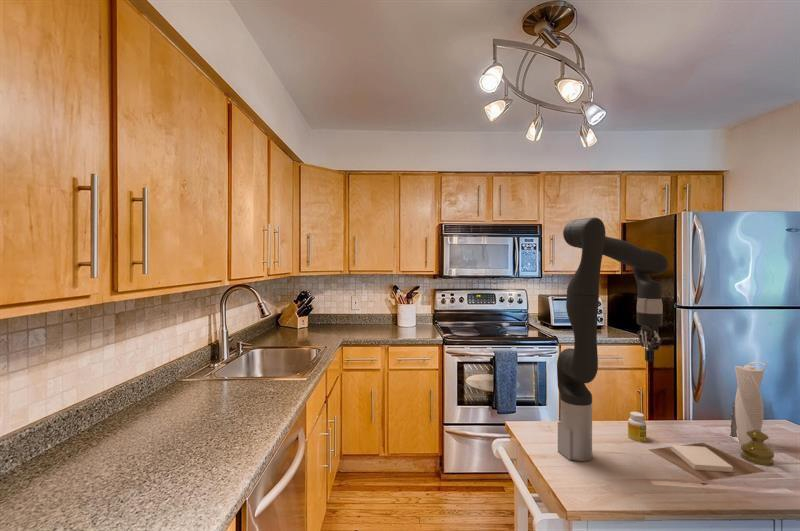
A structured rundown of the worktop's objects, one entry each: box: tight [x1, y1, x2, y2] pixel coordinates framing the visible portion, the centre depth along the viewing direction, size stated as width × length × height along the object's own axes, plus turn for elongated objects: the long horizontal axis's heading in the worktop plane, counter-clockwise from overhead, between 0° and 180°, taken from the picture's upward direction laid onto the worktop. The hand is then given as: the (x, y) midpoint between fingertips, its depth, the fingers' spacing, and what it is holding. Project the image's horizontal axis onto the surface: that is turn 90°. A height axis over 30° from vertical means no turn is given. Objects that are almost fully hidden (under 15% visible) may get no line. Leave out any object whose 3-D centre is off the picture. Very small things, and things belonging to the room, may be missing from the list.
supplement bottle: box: [627, 411, 647, 443], centre depth 131 cm, size 5×5×10 cm
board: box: [648, 442, 765, 486], centre depth 117 cm, size 22×18×1 cm
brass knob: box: [740, 430, 775, 467], centre depth 117 cm, size 7×7×10 cm
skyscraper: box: [729, 361, 767, 445], centre depth 130 cm, size 8×8×28 cm
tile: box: [670, 444, 733, 472], centre depth 116 cm, size 10×2×12 cm
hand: (649, 361), depth 133 cm, fingers closed
